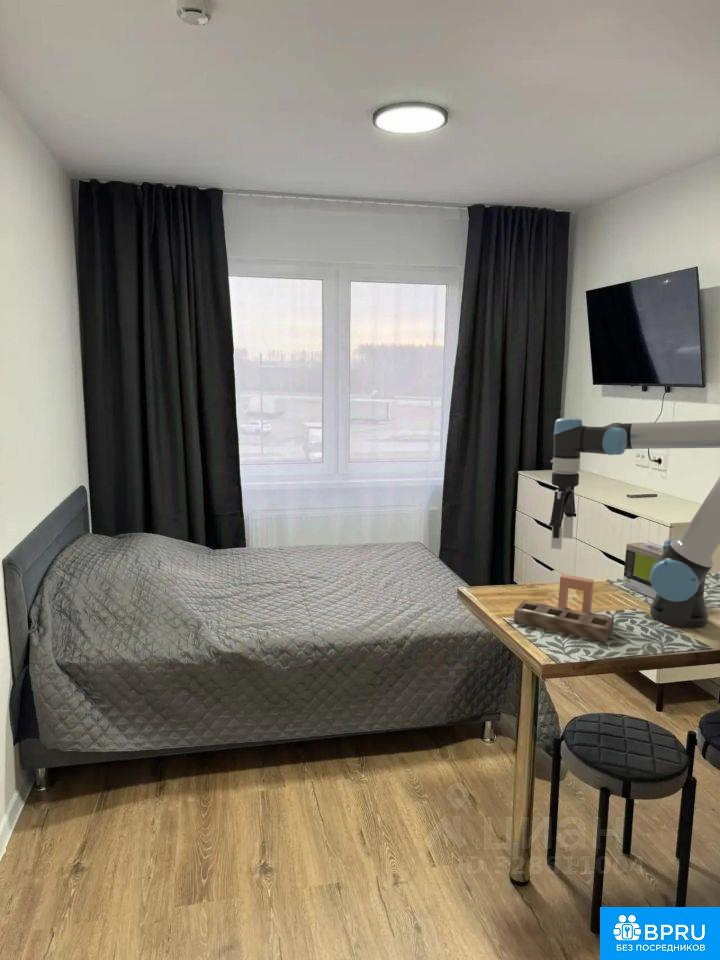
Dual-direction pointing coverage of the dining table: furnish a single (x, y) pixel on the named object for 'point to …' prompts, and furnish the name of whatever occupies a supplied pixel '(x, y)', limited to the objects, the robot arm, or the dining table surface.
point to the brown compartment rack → (564, 620)
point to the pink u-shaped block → (577, 584)
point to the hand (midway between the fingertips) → (561, 543)
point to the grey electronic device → (641, 566)
